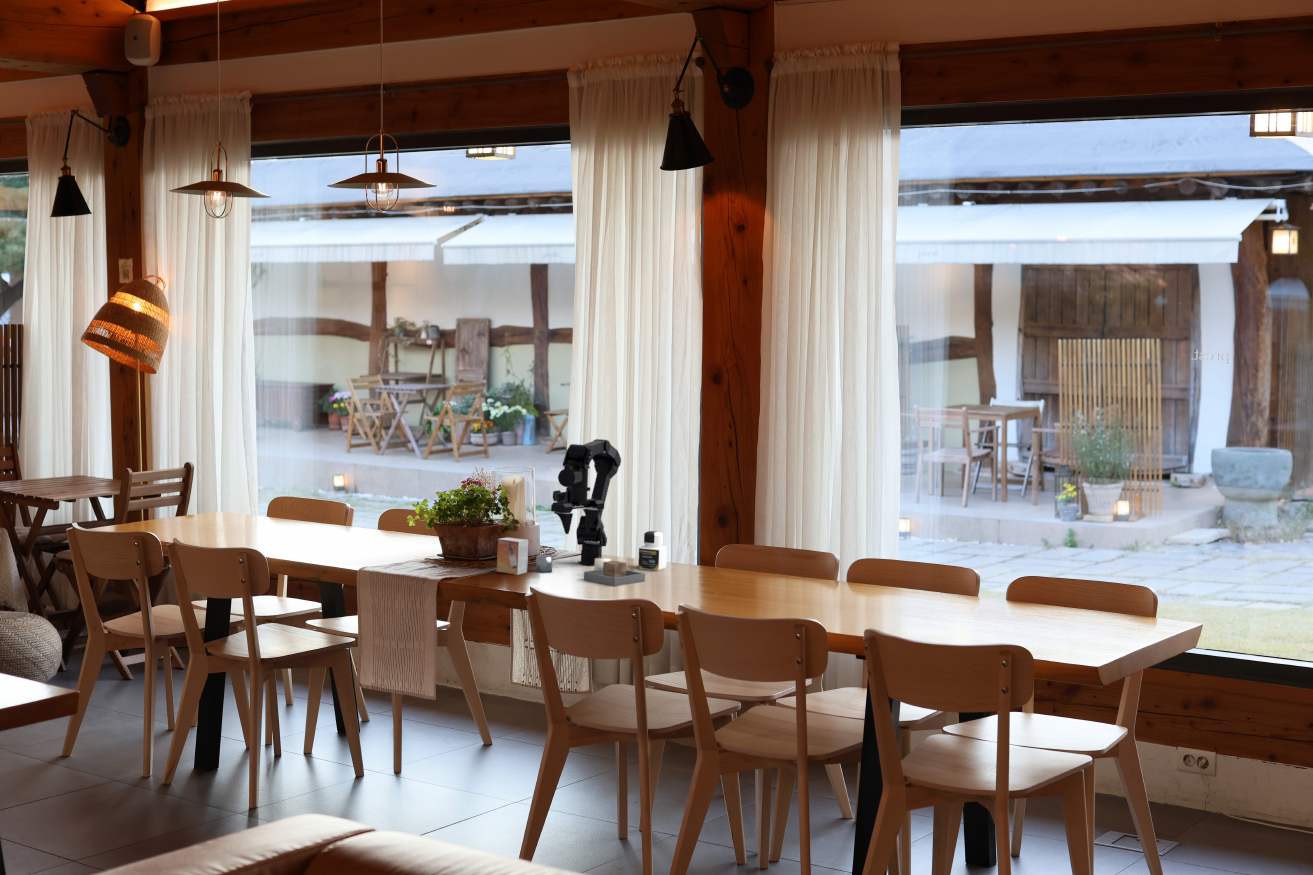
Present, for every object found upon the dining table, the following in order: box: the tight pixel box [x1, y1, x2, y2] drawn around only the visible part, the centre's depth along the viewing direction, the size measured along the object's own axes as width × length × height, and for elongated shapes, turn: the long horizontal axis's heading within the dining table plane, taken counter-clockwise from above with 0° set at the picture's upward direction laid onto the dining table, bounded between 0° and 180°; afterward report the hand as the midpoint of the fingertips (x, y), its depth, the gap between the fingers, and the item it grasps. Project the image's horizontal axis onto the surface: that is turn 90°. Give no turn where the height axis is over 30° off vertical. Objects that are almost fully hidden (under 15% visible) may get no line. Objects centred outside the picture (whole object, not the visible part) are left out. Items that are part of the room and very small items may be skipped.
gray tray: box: [583, 569, 646, 587], centre depth 395 cm, size 13×13×2 cm
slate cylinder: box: [535, 554, 553, 574], centre depth 406 cm, size 5×5×5 cm
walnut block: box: [603, 559, 627, 578], centre depth 395 cm, size 5×5×5 cm
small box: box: [496, 536, 529, 576], centre depth 402 cm, size 8×6×10 cm
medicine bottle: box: [637, 530, 668, 572], centre depth 418 cm, size 7×7×12 cm
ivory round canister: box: [593, 557, 612, 570], centre depth 404 cm, size 5×5×5 cm
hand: (577, 532), depth 410 cm, fingers open, 9 cm apart
